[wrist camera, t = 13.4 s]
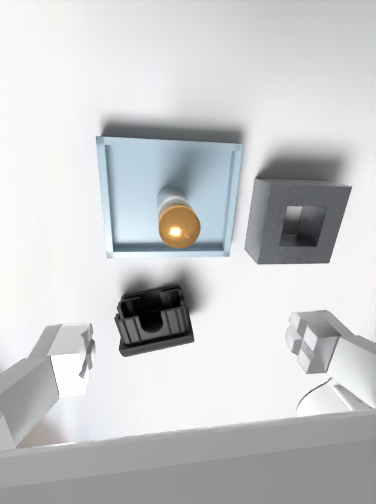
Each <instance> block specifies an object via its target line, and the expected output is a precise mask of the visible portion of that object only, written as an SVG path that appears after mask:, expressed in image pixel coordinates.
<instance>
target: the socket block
mask: <svg viewBox="0 0 376 504" xmlns="http://www.w3.org/2000/svg"><path fill="white" fill-rule="evenodd" d="M351 189H352V187H351V186H347V185H342V184H338V183H333V182H329V181H318V180H288V179H257V178H255V181H254V188H253V195H252V201H251V208H250V215H249V222H248V228H247V235H246V242H245V250H246V252H247V253H248V254H249V255H250V256H251V257H252V259H253V260H254V261H255V262H256V263H257V264H314V263H329V262H330V258H331V255H332V252H333V248H334V245H335V242H336V238H337V235H338V232H339V228H340V225H341V222H342V218H343V215H344V212H345V209H346V205H347V202H348V199H349V195H350V192H351ZM287 206H303V208H302V212H301V217H300V221H299V225H298V229H297V234H281V233H282V229H283V224H284V219H285V214H286V209H287Z"/></svg>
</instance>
